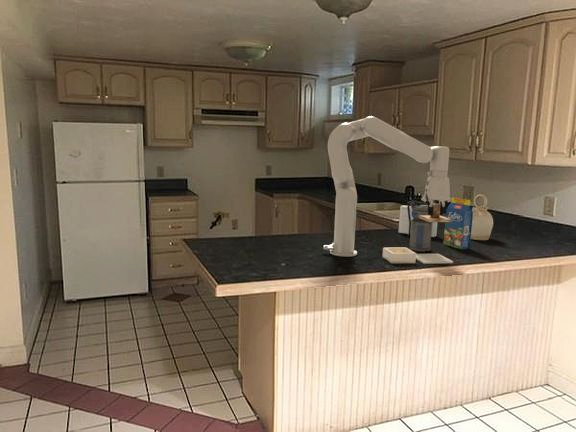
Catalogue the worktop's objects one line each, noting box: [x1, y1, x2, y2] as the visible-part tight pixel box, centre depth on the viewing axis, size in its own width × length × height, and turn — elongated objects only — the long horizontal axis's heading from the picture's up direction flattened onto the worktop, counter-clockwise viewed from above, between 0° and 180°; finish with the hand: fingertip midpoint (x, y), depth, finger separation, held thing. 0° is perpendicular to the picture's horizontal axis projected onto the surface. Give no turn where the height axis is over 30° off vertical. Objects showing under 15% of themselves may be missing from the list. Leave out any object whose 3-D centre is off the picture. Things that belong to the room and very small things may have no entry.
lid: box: [419, 203, 451, 223], centre depth 208 cm, size 10×10×7 cm
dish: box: [382, 246, 417, 264], centre depth 208 cm, size 11×11×4 cm
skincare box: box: [398, 205, 438, 238], centre depth 267 cm, size 21×6×16 cm, turn 58°
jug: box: [471, 194, 494, 241], centre depth 261 cm, size 15×16×25 cm
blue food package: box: [442, 197, 473, 250], centre depth 238 cm, size 6×12×25 cm, turn 28°
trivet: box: [416, 253, 454, 265], centre depth 212 cm, size 14×14×1 cm
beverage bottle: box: [406, 200, 436, 253], centre depth 228 cm, size 10×13×25 cm
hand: (435, 214), depth 209 cm, fingers closed on lid, 4 cm apart
